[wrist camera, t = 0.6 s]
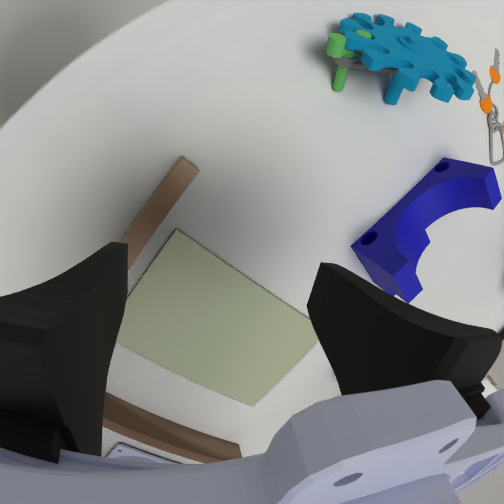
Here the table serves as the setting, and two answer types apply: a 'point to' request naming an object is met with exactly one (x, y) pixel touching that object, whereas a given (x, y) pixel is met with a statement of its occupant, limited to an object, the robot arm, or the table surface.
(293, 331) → the mat
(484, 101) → the key chain
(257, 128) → the table surface
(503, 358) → the spread jar
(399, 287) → the cable clip
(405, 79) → the gear
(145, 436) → the corner walls
